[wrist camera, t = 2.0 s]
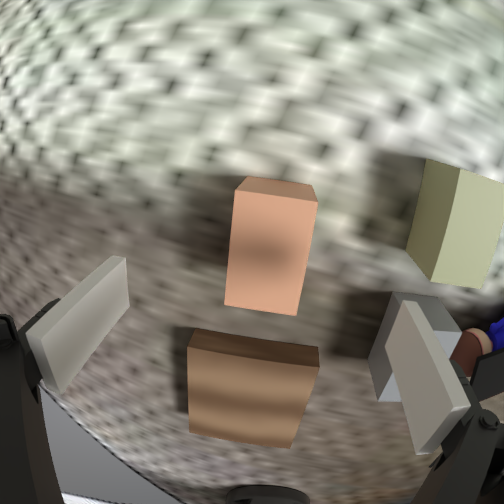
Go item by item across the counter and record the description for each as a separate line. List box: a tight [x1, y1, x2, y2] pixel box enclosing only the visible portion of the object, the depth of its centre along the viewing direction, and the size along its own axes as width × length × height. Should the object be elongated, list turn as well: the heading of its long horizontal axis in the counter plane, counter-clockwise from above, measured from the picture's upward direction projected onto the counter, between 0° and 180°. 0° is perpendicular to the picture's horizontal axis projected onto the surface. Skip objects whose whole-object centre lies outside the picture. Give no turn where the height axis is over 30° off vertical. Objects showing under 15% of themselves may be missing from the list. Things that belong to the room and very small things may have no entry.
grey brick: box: [367, 292, 462, 401], centre depth 25 cm, size 8×5×6 cm, turn 174°
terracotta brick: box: [224, 176, 318, 316], centre depth 23 cm, size 8×5×6 cm, turn 174°
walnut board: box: [187, 328, 320, 449], centre depth 31 cm, size 14×12×3 cm
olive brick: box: [405, 159, 504, 289], centre depth 21 cm, size 8×5×6 cm, turn 174°
